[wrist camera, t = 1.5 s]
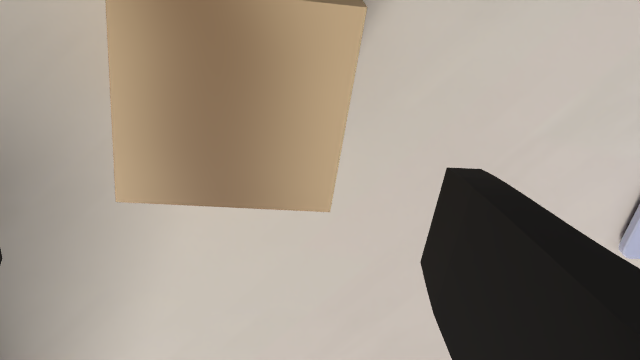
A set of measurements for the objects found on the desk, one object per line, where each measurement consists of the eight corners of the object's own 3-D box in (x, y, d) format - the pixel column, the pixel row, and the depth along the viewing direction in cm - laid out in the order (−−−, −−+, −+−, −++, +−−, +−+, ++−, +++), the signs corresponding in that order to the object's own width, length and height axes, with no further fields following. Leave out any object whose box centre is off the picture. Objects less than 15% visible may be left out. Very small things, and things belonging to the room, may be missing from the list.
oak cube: (333, -46, 16) (367, 7, 12) (309, 120, 18) (329, 212, 14) (142, -70, 15) (104, -22, 11) (145, 107, 18) (116, 201, 13)
